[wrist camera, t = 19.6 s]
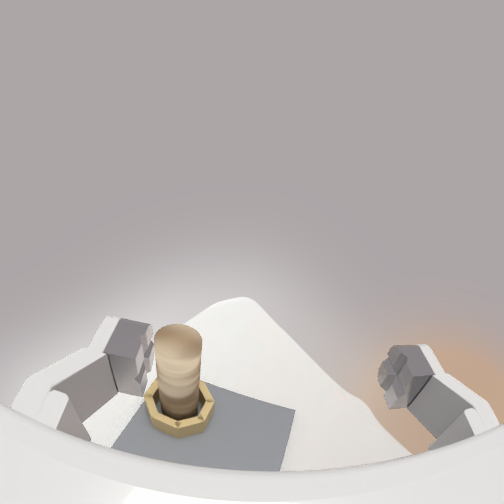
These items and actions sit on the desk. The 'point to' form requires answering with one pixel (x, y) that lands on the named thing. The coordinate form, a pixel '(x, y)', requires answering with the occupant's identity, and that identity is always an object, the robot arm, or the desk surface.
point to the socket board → (211, 432)
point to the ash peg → (178, 370)
